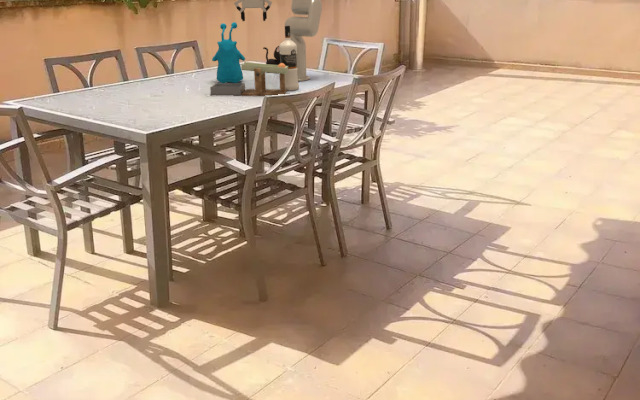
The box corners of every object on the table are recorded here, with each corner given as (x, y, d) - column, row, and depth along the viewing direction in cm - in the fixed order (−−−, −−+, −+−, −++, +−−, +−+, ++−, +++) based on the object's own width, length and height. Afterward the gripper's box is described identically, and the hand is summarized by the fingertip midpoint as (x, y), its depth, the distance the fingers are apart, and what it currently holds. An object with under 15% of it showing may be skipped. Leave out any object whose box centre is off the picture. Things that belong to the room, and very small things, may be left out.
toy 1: (247, 78, 364) (244, 20, 354) (245, 84, 347) (242, 23, 337) (216, 79, 364) (212, 20, 354) (212, 85, 347) (207, 24, 337)
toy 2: (284, 74, 375) (284, 46, 370) (261, 73, 380) (259, 45, 375) (291, 72, 382) (290, 44, 377) (267, 71, 387) (266, 43, 382)
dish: (216, 91, 331) (215, 83, 329) (245, 91, 329) (244, 83, 328) (210, 95, 321) (210, 87, 320) (240, 95, 319) (240, 87, 318)
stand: (286, 91, 327) (285, 64, 323) (283, 96, 317) (282, 68, 313) (246, 91, 329) (245, 65, 325) (241, 95, 319) (239, 68, 315)
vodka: (292, 87, 338) (290, 24, 328) (302, 89, 331) (301, 25, 321) (276, 89, 334) (273, 25, 324) (286, 92, 326) (283, 27, 316)
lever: (290, 71, 331) (291, 62, 330) (285, 77, 316) (286, 68, 315) (246, 67, 333) (246, 59, 332) (239, 73, 318) (239, 64, 316)
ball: (278, 69, 320) (279, 61, 319) (285, 70, 320) (286, 63, 319) (276, 70, 317) (277, 63, 316) (284, 72, 317) (285, 64, 316)
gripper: (271, -19, 315) (273, 19, 321) (234, -18, 316) (236, 20, 322) (269, -18, 308) (271, 21, 314) (231, -18, 309) (234, 22, 315)
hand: (254, 20), depth 318 cm, fingers open, 9 cm apart
